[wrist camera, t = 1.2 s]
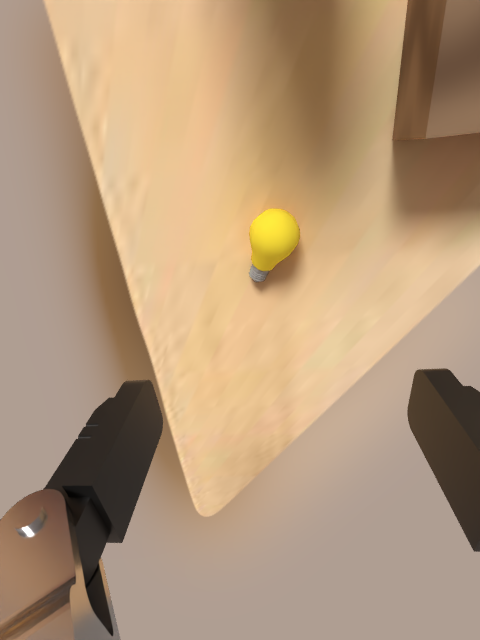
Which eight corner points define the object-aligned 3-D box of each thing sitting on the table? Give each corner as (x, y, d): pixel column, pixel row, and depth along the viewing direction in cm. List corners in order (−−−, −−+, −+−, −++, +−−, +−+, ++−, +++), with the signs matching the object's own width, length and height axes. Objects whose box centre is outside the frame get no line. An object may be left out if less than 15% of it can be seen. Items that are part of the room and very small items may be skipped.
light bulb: (299, 203, 22) (314, 232, 20) (270, 268, 27) (280, 297, 24) (255, 193, 21) (264, 222, 19) (232, 262, 26) (238, 293, 23)
